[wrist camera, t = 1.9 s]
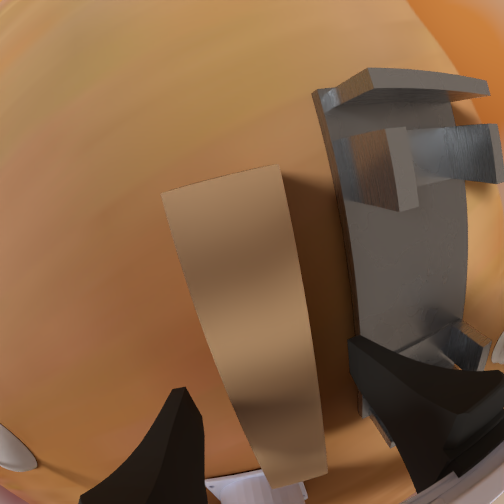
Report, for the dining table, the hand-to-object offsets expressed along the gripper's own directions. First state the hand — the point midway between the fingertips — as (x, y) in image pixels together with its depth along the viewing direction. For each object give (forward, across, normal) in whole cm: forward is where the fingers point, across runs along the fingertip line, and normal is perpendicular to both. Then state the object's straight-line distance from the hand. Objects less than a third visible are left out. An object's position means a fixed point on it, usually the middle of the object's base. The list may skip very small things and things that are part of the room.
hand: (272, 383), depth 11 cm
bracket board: (+4, -10, -1) cm, 11 cm away
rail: (+4, 0, 0) cm, 4 cm away
